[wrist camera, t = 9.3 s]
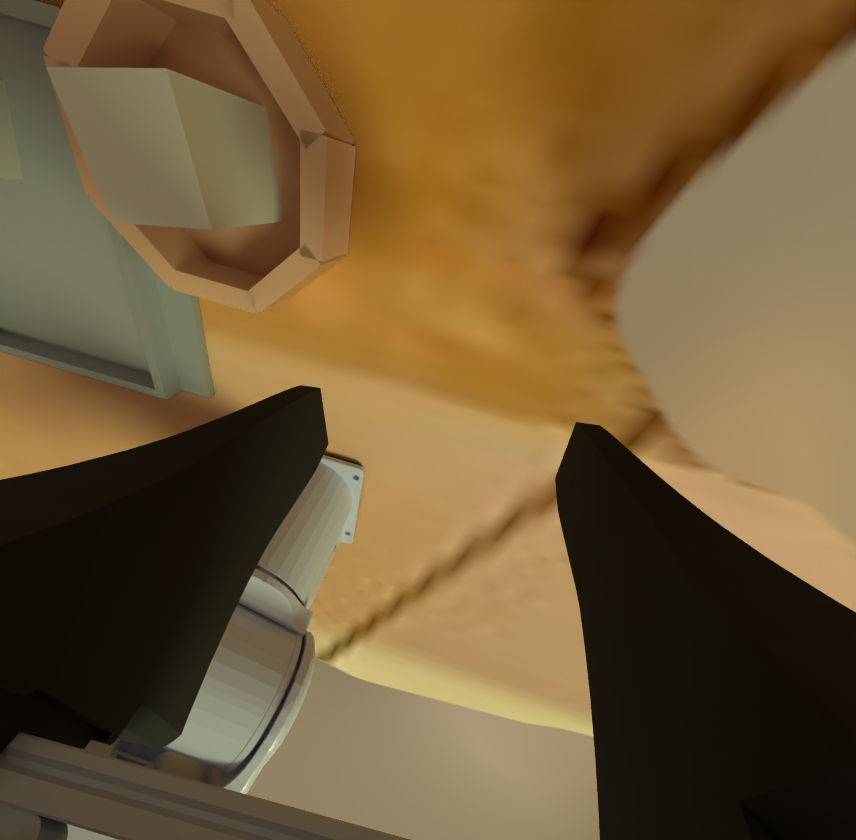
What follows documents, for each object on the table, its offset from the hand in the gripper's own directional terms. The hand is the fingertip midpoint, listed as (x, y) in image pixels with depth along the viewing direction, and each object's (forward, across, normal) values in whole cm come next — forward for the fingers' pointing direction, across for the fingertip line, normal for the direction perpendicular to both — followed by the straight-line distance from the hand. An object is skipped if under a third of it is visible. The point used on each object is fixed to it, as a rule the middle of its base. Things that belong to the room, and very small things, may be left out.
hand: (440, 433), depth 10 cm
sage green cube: (+9, +11, -6) cm, 16 cm away
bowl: (+10, +11, -6) cm, 16 cm away
